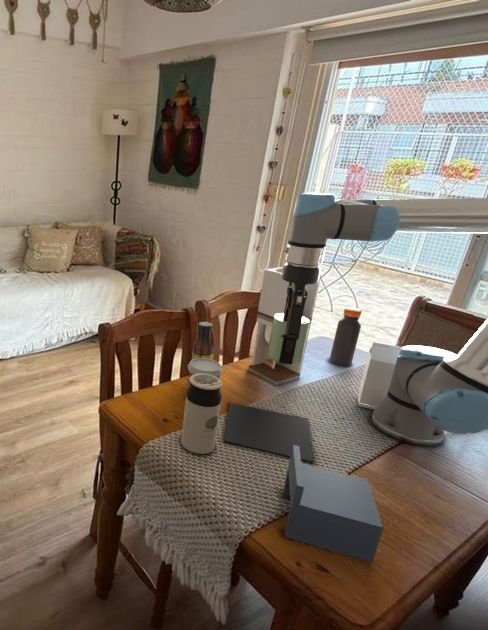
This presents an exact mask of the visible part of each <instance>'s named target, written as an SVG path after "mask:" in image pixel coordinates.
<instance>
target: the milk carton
mask: <svg viewBox="0 0 488 630" xmlns="http://www.w3.org/2000/svg"><path fill="white" fill-rule="evenodd" d="M403 347H404V346H399V345H394V344H393V345H392V344H388V343H381V342H375V341H373V342H372V345H371V347H370V349H369V350H368V354H367V357H366V362H365V366H364V369H363V372H362V377H361V381H360V384H359V389H358V392H359V398H358V397H357V404H358V407H361V408H367V409H369V410H373V411H374V410H375V409H376V408H377V407H378V405H379V404H380V403H381V402H382V401H383V399H384V398H385V397H386V396H387V393H388V389H389V386H390V382H391V379H392V375H393V371H394V368H395V364H396V361H397V356H398V355H399V352H400V350H401V348H403ZM359 402H361V403H364V404H368V405H370V406H368V405H364V404H360V403H359ZM372 406H374V407H372Z"/></svg>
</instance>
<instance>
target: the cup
mask: <svg viewBox="0 0 488 630" xmlns="http://www.w3.org/2000/svg"><path fill="white" fill-rule="evenodd" d="M287 319H288V314H286V313H279V314H276V315H274V319H273V324H272V330H271V336H270V341H269V347H268V352H267V355H268V357H269V358H271V359H273V360H275V361H278V362H279V359H280V353H281V348H282V343H283V338H282V337H281V335H285V333H286V326H287ZM309 322H310V321H309V319H307V318H305V317H303V316H302V322H301V327H300V333H299V339H298V340H297V342H296V347H295V351H294V356H293V361H292V364H296V363H300V362H301V360H302V356H303V351H304V346H305V341H306V337H307V332H308V327H309ZM292 334H293V333H292Z"/></svg>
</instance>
